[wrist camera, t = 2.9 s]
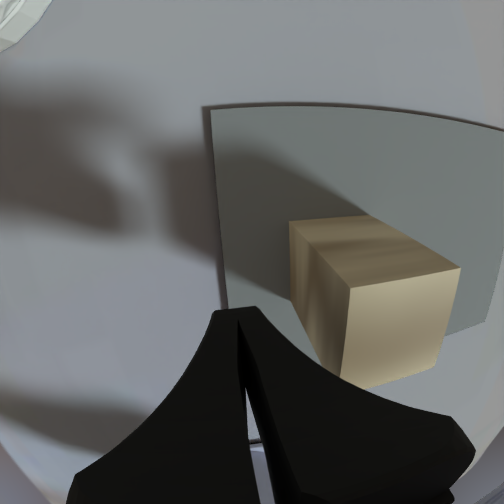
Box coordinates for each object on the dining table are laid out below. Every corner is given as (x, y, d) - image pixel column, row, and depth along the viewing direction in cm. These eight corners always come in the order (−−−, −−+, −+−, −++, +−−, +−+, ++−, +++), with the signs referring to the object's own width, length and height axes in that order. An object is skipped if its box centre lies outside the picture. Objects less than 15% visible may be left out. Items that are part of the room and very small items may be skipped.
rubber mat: (481, 318, 19) (484, 321, 18) (237, 378, 17) (238, 382, 16) (509, 134, 14) (513, 134, 13) (210, 110, 12) (210, 110, 11)
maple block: (363, 289, 15) (434, 366, 9) (290, 301, 15) (336, 396, 9) (369, 214, 14) (460, 267, 8) (289, 221, 14) (350, 287, 8)
